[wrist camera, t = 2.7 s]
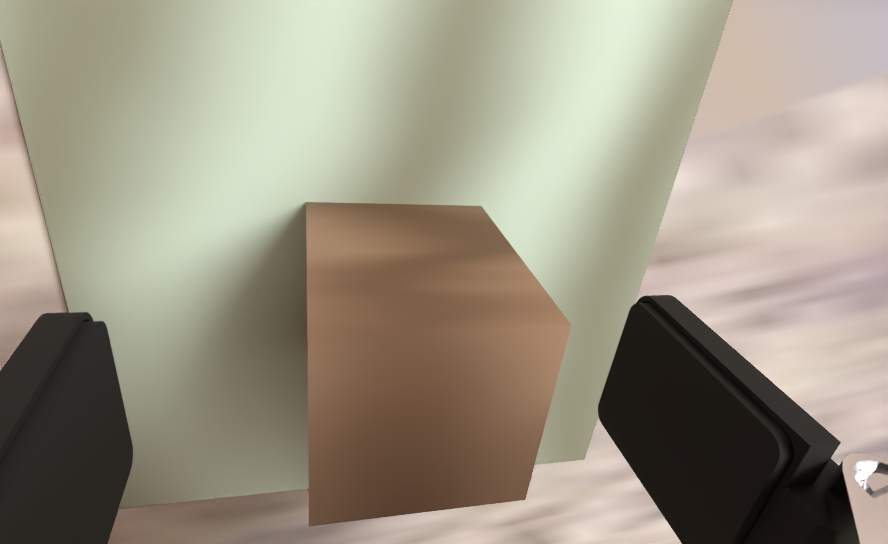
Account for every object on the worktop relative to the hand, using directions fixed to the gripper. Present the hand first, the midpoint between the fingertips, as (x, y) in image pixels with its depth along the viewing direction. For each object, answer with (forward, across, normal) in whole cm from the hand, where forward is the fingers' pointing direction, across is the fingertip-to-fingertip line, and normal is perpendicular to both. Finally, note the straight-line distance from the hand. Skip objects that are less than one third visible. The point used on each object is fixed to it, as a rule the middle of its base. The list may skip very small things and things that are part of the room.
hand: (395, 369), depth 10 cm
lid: (+4, 0, 0) cm, 4 cm away
